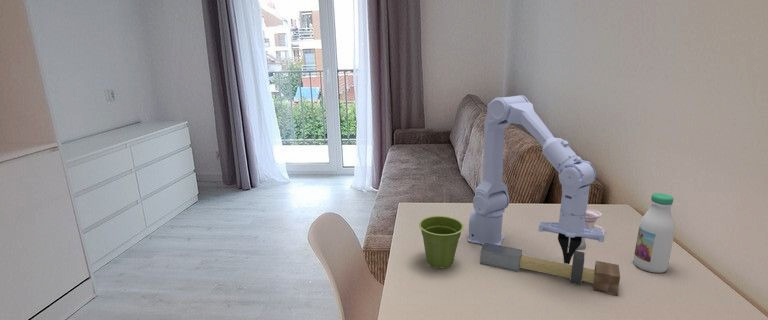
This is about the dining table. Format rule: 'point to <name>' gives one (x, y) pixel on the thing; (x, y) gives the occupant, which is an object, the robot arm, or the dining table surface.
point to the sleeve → (500, 257)
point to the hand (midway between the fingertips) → (566, 261)
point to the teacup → (592, 219)
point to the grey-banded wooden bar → (561, 268)
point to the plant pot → (440, 239)
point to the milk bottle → (655, 235)
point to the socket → (606, 278)
